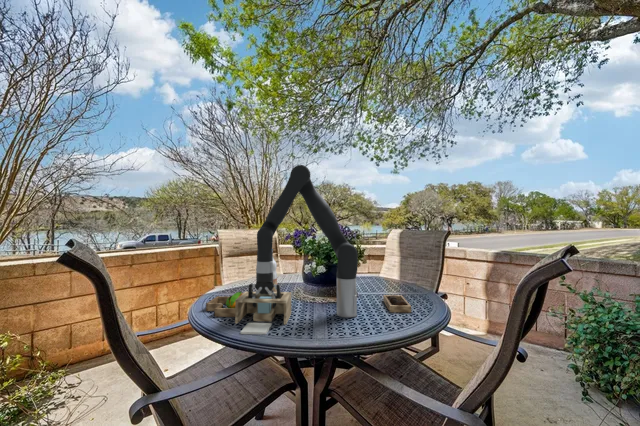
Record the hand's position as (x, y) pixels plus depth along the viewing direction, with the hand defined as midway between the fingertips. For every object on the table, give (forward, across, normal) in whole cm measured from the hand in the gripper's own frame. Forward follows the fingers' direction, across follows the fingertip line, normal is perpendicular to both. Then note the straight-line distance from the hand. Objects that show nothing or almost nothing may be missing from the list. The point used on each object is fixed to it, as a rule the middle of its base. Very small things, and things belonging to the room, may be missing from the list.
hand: (264, 307), depth 129 cm
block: (+2, 0, 0) cm, 2 cm away
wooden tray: (+5, -63, -21) cm, 67 cm away
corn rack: (+5, +17, -15) cm, 23 cm away
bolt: (+5, -63, -20) cm, 66 cm away
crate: (+5, 0, 0) cm, 5 cm away
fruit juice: (+5, +5, -28) cm, 29 cm away
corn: (+5, +18, -15) cm, 24 cm away
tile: (+5, 0, +13) cm, 14 cm away
